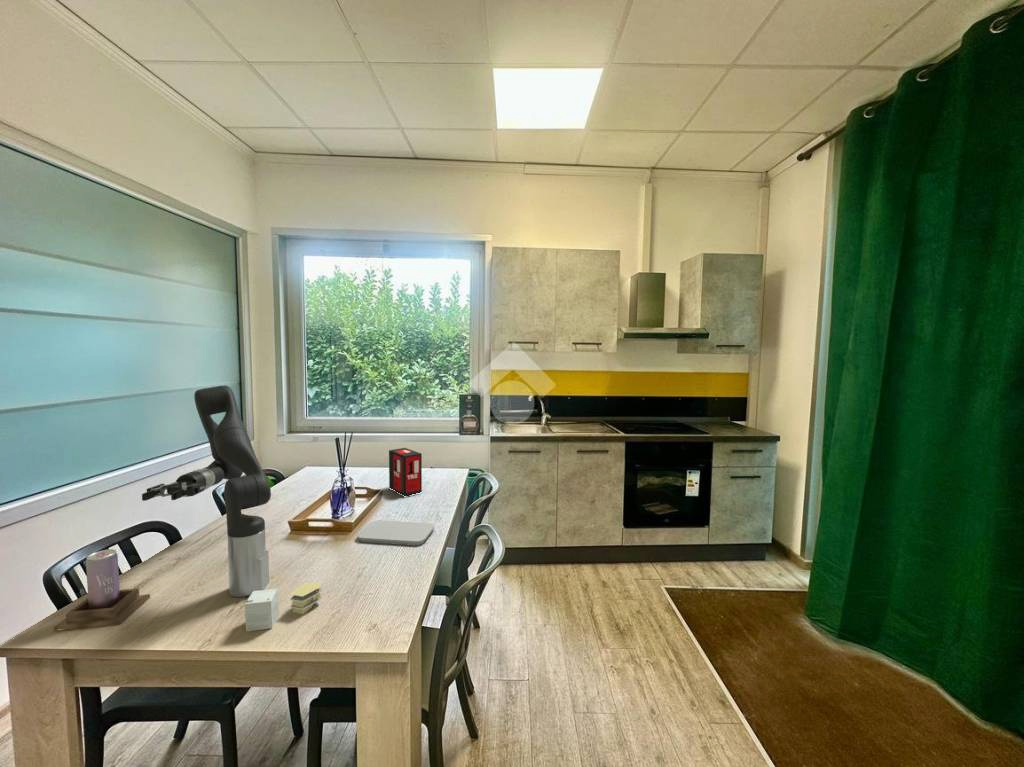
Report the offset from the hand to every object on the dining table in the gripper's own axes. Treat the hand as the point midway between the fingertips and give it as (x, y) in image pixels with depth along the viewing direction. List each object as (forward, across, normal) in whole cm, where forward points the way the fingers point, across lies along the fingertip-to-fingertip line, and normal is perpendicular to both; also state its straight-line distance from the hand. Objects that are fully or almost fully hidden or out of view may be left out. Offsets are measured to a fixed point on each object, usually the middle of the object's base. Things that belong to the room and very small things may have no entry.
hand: (157, 497), depth 127 cm
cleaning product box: (-82, +56, +25) cm, 102 cm away
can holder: (+17, -2, +25) cm, 31 cm away
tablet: (-30, +63, +26) cm, 75 cm away
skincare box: (+22, +42, +27) cm, 54 cm away
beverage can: (+17, -2, +25) cm, 30 cm away
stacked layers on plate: (+15, +50, +27) cm, 59 cm away
